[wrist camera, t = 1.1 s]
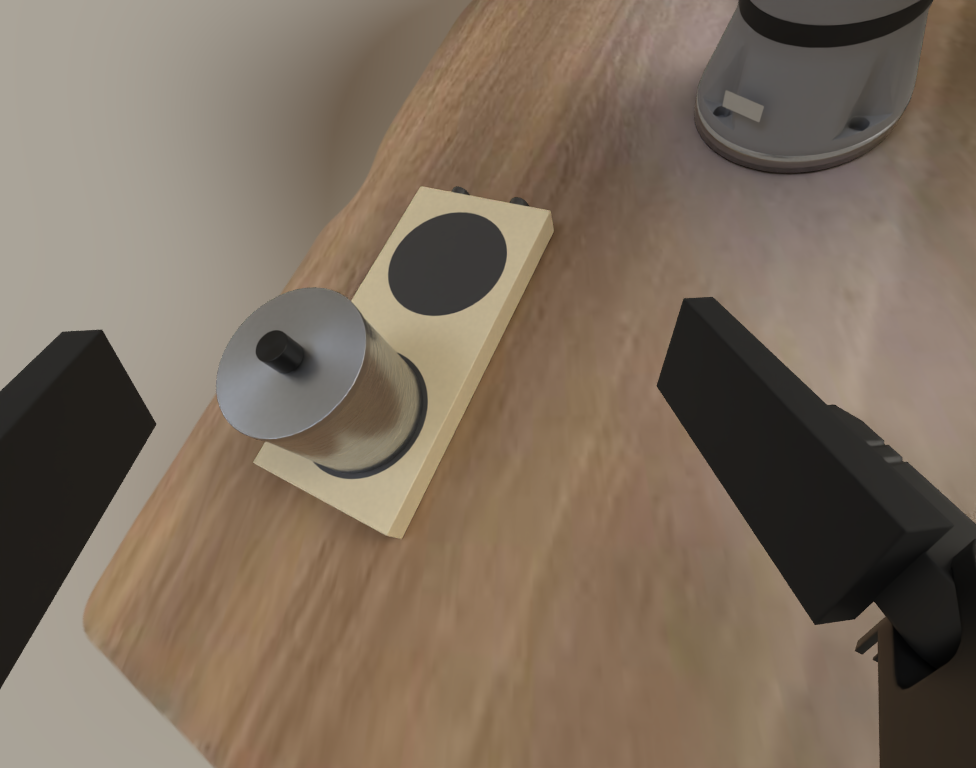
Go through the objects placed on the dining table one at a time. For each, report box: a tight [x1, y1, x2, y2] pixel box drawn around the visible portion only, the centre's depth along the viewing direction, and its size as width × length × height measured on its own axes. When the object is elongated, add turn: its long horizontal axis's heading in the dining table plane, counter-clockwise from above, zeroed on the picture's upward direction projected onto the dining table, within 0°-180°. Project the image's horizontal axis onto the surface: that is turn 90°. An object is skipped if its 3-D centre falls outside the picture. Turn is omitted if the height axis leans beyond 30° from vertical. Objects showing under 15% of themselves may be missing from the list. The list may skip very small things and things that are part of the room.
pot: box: [216, 287, 422, 473], centre depth 31 cm, size 10×10×11 cm
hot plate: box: [253, 186, 554, 539], centre depth 39 cm, size 29×13×2 cm, turn 154°
